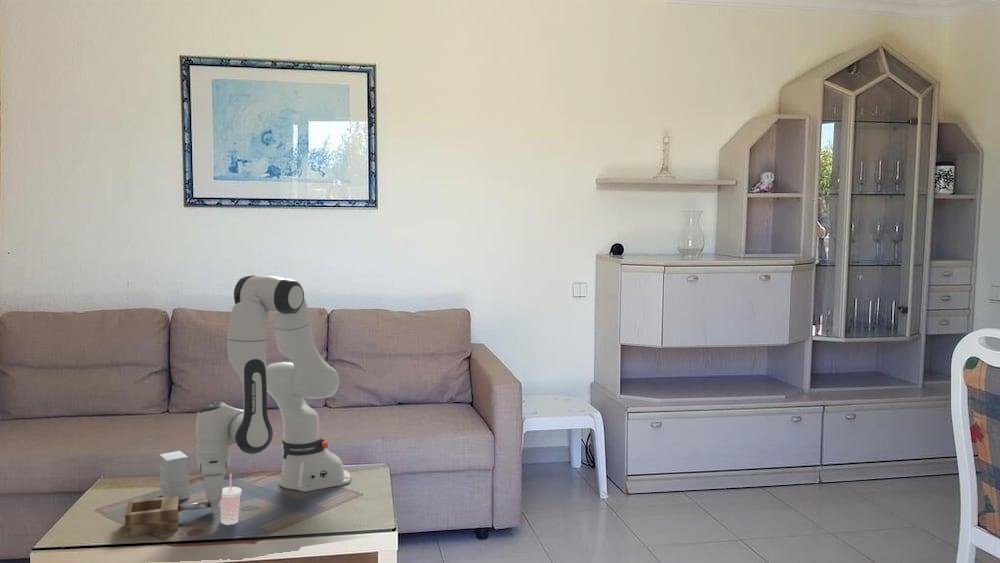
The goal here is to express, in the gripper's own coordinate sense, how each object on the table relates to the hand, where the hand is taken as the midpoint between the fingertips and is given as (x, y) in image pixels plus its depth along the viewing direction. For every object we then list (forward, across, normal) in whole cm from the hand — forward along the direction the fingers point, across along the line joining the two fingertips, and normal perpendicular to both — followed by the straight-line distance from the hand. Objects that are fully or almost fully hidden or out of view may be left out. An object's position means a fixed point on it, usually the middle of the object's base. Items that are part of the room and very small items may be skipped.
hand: (214, 506), depth 226 cm
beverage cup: (+3, +6, +4) cm, 8 cm away
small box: (+3, -20, -11) cm, 23 cm away
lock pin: (+1, 0, -6) cm, 6 cm away
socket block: (+3, +2, -16) cm, 16 cm away
